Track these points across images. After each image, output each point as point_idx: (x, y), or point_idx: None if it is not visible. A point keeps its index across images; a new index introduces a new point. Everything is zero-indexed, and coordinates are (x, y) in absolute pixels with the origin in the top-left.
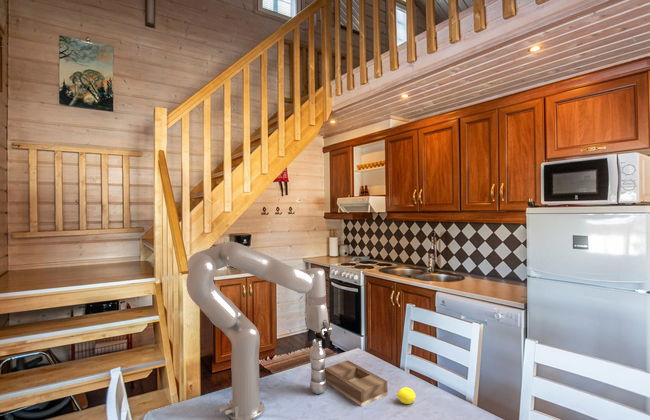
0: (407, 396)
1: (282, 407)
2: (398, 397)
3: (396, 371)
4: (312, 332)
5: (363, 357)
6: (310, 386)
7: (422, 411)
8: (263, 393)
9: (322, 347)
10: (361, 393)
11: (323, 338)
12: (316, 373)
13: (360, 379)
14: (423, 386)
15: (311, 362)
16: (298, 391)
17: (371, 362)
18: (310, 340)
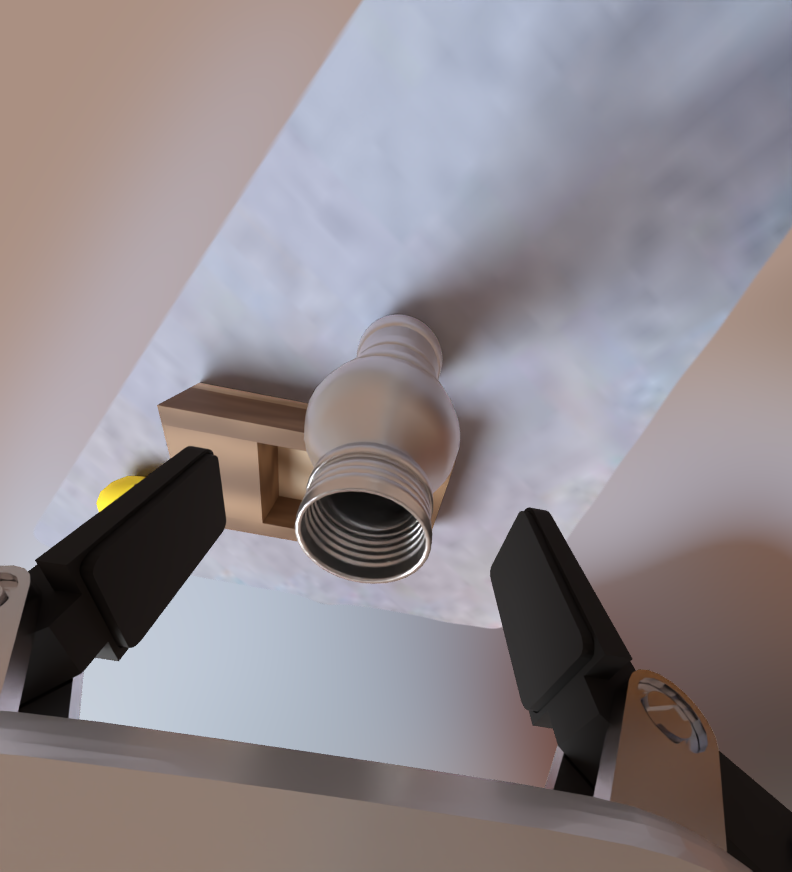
0: (100, 493)
1: (434, 61)
2: (136, 480)
3: (312, 590)
4: (538, 657)
5: (448, 607)
6: (419, 320)
7: (89, 475)
8: (670, 81)
9: (180, 451)
10: (163, 403)
11: (5, 569)
12: (367, 347)
13: (253, 479)
14: (203, 567)
15: (397, 353)
16: (482, 284)
17: (405, 596)
18: (518, 526)
